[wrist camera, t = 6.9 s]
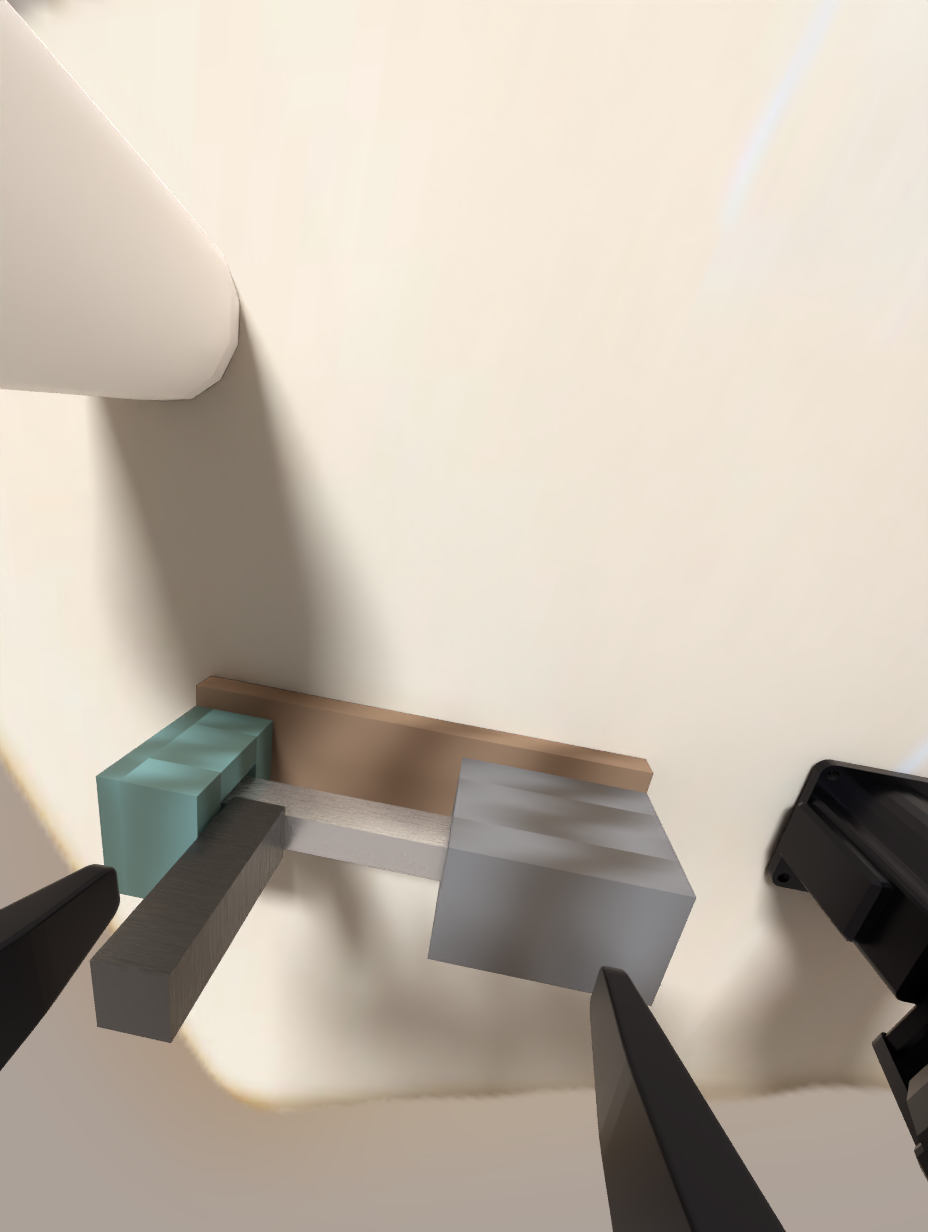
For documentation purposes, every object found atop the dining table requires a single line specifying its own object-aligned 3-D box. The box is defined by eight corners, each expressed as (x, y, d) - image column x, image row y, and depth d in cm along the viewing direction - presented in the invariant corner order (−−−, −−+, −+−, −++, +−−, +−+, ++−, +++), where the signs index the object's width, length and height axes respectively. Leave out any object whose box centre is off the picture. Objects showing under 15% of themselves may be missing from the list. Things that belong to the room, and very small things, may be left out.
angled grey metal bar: (498, 818, 18) (496, 1048, 10) (488, 864, 18) (479, 1111, 11) (194, 757, 18) (-15, 937, 11) (194, 805, 19) (-1, 1004, 11)
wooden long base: (645, 759, 19) (706, 873, 14) (605, 881, 21) (643, 1025, 16) (210, 675, 20) (93, 750, 14) (211, 801, 22) (108, 911, 16)
